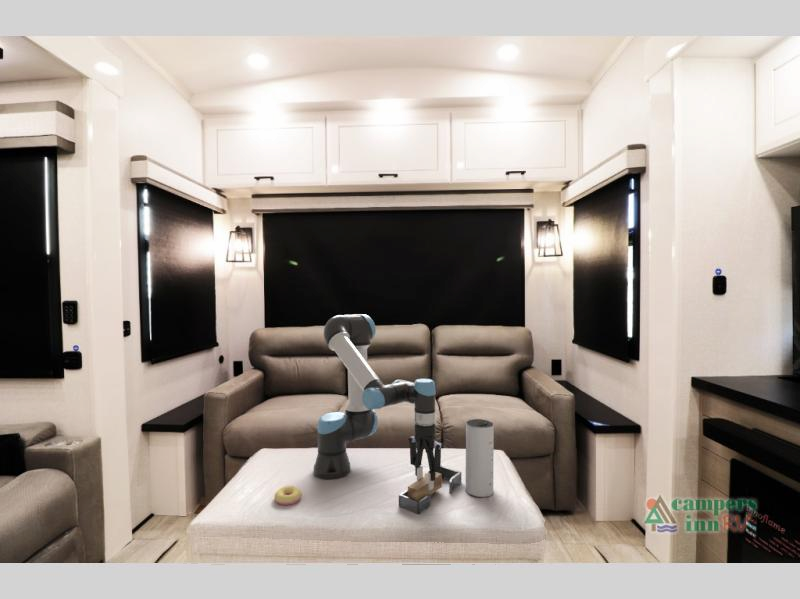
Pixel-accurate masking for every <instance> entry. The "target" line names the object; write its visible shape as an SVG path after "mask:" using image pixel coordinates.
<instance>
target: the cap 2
mask: <svg viewBox="0 0 800 599" xmlns="http://www.w3.org/2000/svg"><path fill="white" fill-rule="evenodd" d="M437 473H441V474H442V478H444V479H447V480H448V482H449V483H448V486H449V487H448V488H449V490H448V491H449V493H451V494H452V492H453V490H454V489H455V488H456V487H457V486H459V485H460V484H461V483H462V471H460V470H457V469H453V468H450V467H447V466H443V465H441V468H440V470H439V471H437ZM427 474H428V472H426V473H425V474H424V476H426V475H427Z"/></svg>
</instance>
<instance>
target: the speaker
mask: <svg viewBox="0 0 800 599" xmlns="http://www.w3.org/2000/svg"><path fill="white" fill-rule="evenodd" d="M494 425H495V424H494V423H493V421H490V420H487V419H481V418H474V419H469V420H467V421H466V422H465V491H466V493H467V494H468V495H470V496H473V497H477V498H487V497H490V496H492V495H493V493H494V454H495V452H494V448H495V447H494V445H495V444H494V441H495V440H494V439H495V438H494V435H495V434H494V433H495V430H494V428H495V426H494Z"/></svg>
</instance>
